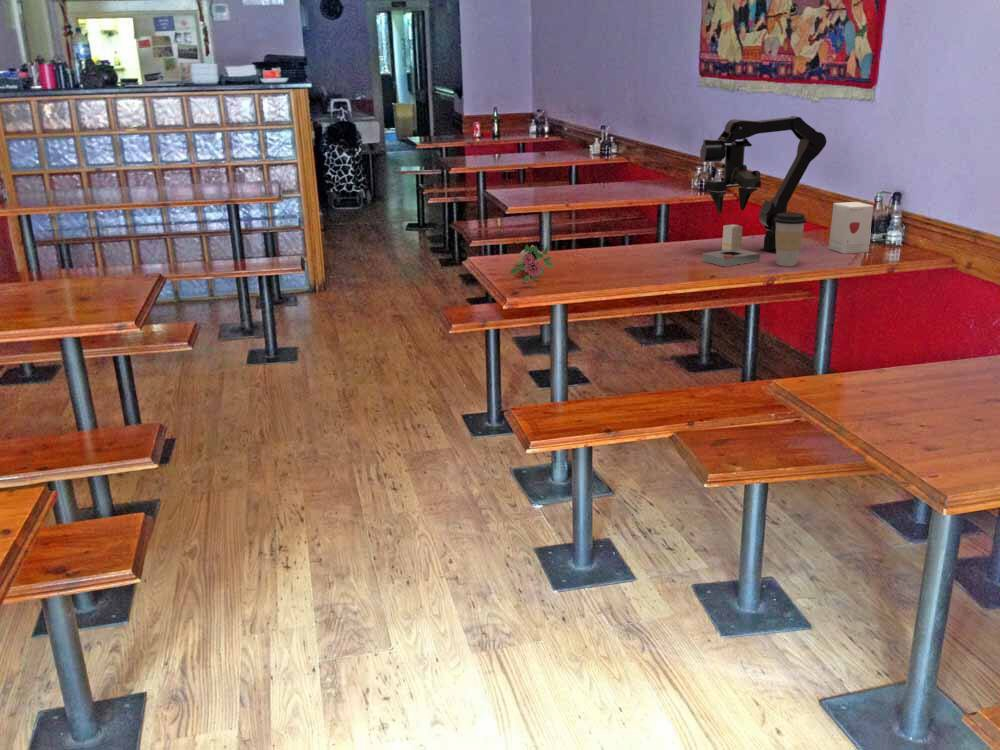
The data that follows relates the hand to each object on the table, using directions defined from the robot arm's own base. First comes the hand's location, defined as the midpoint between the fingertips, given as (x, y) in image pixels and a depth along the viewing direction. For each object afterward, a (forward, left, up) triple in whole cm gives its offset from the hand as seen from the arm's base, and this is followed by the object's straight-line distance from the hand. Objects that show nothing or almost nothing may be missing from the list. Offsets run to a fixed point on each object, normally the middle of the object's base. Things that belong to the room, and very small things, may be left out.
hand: (731, 211), depth 295 cm
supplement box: (-33, +19, -13) cm, 40 cm away
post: (+9, +11, -10) cm, 17 cm away
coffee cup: (-2, +23, -13) cm, 27 cm away
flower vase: (+71, -5, -13) cm, 72 cm away
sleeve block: (+9, +11, -13) cm, 19 cm away
